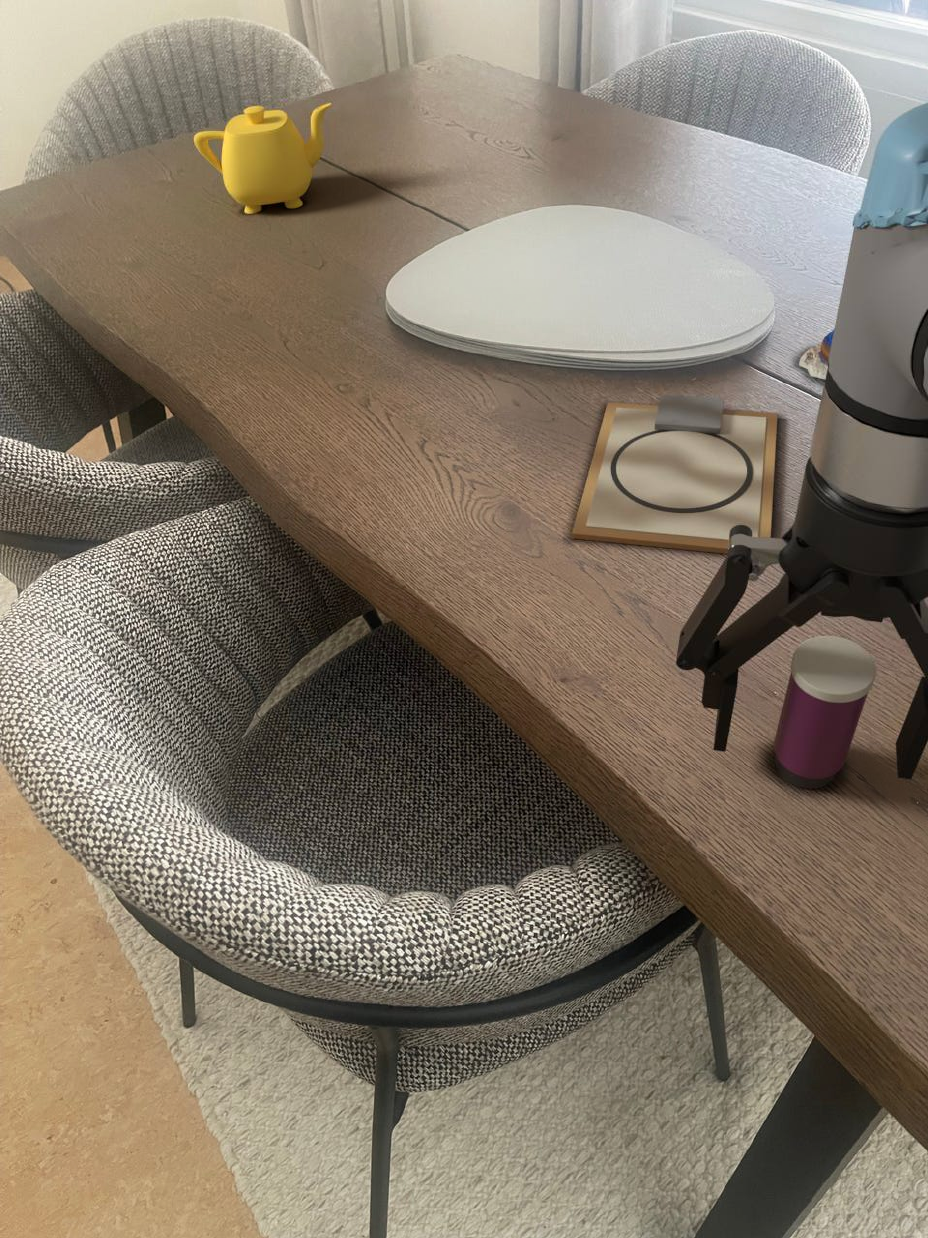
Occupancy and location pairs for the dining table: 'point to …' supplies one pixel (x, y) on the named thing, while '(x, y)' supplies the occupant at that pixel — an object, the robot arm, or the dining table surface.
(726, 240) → the dining table surface
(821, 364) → the dessert
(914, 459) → the robot arm
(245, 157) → the teapot
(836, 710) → the cylinder
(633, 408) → the sketch board
